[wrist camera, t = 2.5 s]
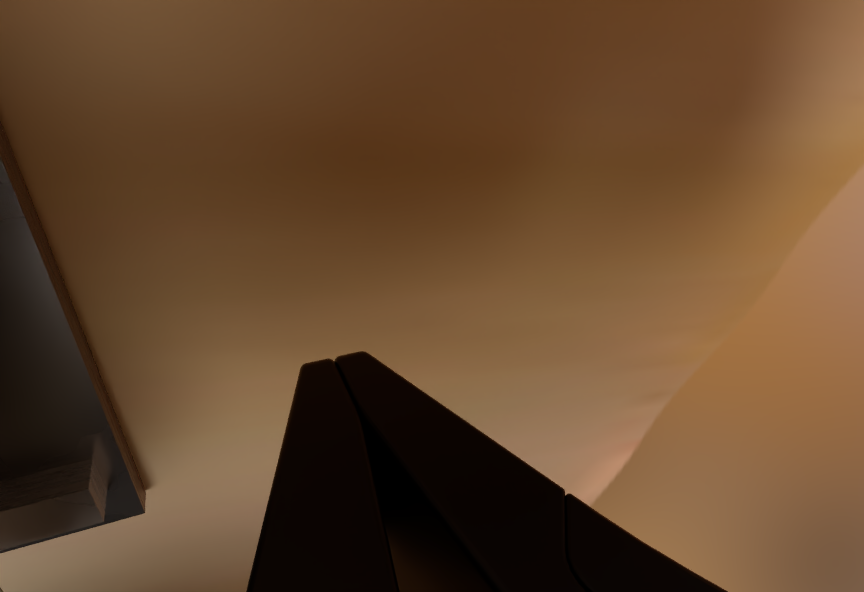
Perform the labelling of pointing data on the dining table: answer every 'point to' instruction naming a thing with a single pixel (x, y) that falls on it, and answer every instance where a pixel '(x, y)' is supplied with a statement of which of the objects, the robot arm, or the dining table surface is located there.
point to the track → (50, 394)
